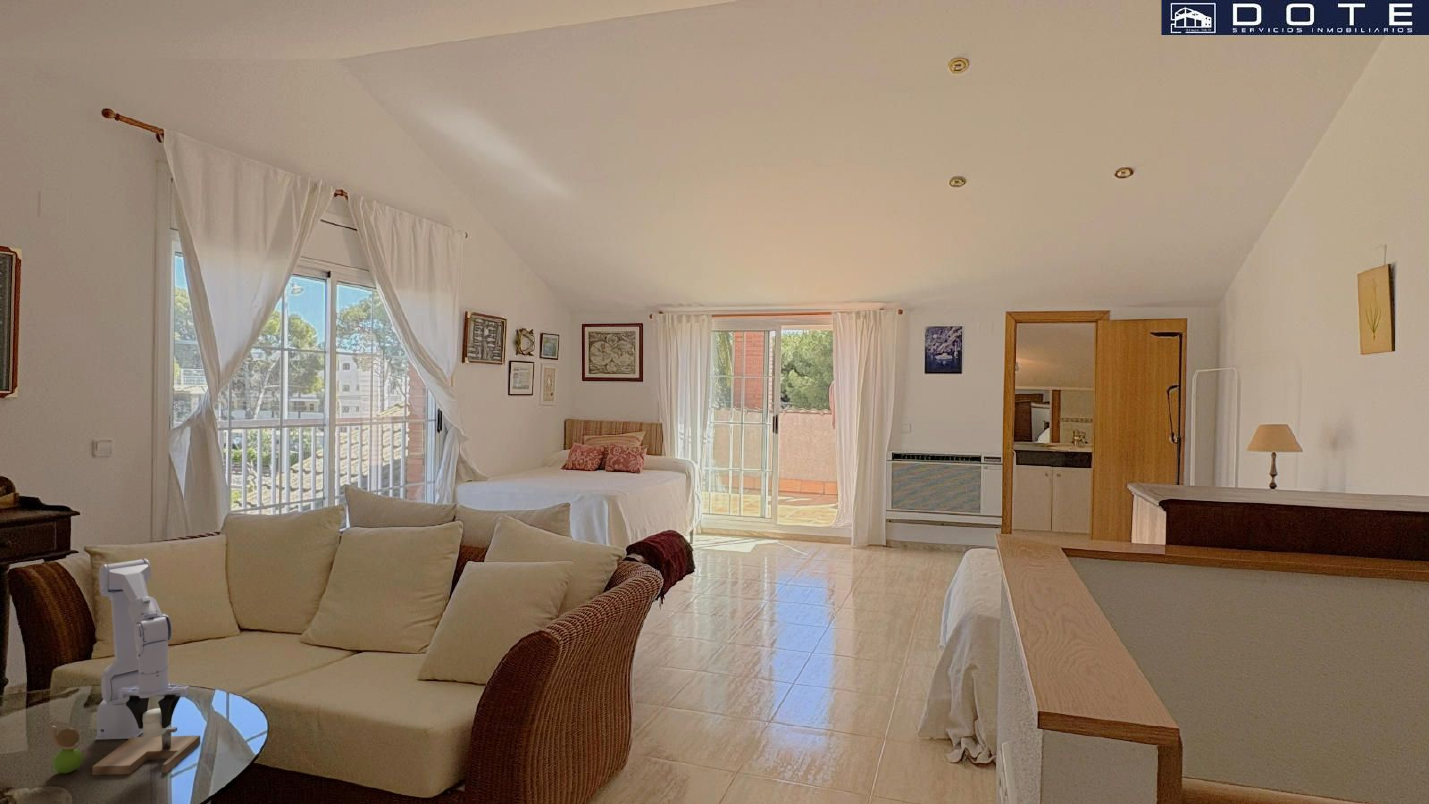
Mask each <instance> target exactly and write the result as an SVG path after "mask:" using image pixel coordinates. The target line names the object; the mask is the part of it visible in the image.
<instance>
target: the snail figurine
mask: <svg viewBox="0 0 1429 804" xmlns="http://www.w3.org/2000/svg"><path fill="white" fill-rule="evenodd" d="M53 723H55V722H54V720H51V721H48V723H47V724H48V725H50V726H49V728H48V731H49V733H50V736H51V740H52V742H53V744H54V746H55V747H56V748H58V749H59V750H60V751H59V752H57V754H55V756H54V758H53V759H52V768H53V769H54V771H55V772H56V773H59V774H70V773H72V772H74V771H76V770H77V769H78V768H79V767H80V766H81V765H82V763H83V759H84V755H83V752H82V750H80V749H79V748H78V747H79V746H80V744H79V743H78V742H79V739H80V734H79V731H78V730H77V729H76V728H73V727H65V728H62V729H61V730H60V731H59V732H57V731H58V727H57V726H56V725H52V724H53Z"/></svg>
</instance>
